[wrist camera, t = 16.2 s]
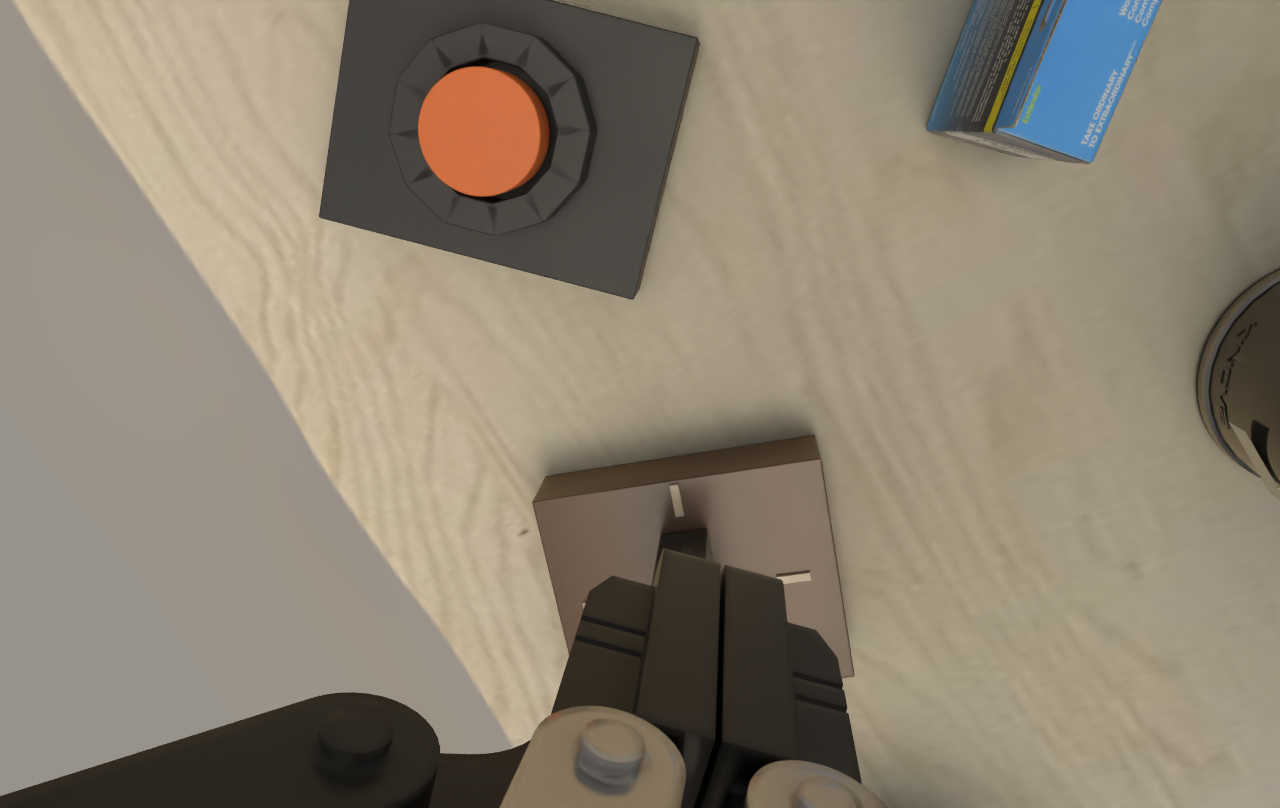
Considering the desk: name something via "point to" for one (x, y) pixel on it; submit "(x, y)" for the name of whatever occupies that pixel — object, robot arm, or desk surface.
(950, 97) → the ink cartridge box
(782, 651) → the robot arm
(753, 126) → the desk surface
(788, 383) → the desk surface
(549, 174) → the button housing
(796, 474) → the dial panel
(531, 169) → the button
